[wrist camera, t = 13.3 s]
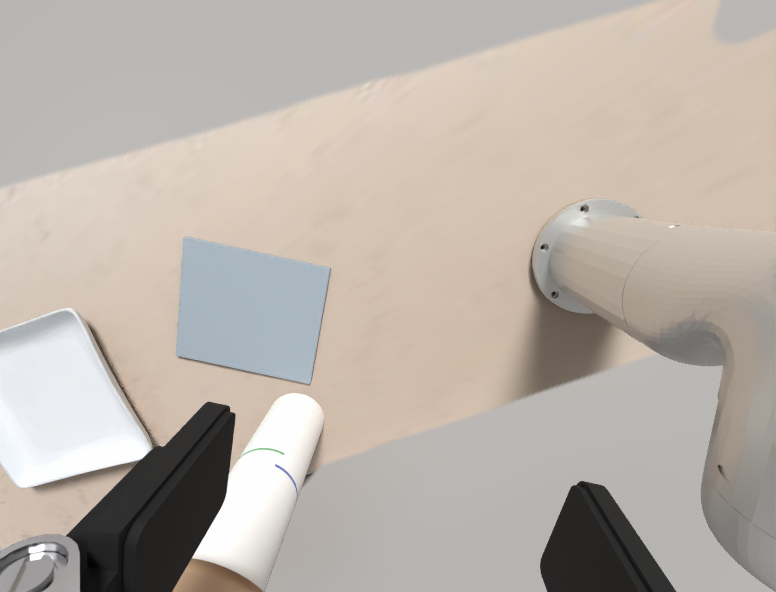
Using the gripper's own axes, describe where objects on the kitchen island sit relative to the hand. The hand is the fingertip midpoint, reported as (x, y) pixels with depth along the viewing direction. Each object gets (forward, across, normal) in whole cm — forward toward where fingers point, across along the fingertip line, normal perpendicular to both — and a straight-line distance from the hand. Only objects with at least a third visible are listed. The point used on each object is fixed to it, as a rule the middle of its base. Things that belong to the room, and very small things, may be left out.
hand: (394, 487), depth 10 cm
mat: (+34, +16, +10) cm, 39 cm away
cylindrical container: (+34, +9, +23) cm, 42 cm away
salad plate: (+35, +40, +27) cm, 60 cm away
